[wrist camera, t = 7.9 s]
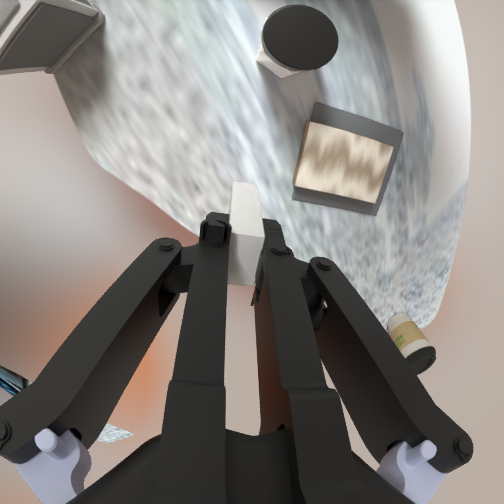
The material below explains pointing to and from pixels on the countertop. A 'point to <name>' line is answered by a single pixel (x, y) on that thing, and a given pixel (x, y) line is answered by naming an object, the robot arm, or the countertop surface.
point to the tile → (341, 162)
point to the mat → (360, 127)
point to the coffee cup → (411, 342)
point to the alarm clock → (43, 33)
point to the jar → (296, 40)
